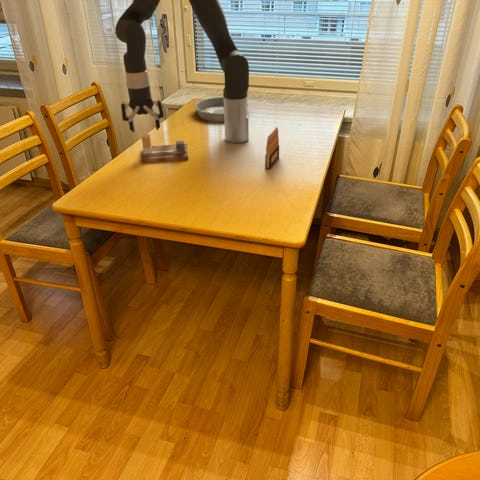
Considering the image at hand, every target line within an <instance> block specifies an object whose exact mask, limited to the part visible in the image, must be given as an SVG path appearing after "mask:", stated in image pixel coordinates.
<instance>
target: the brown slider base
mask: <svg viewBox="0 0 480 480" xmlns="http://www.w3.org/2000/svg"><path fill="white" fill-rule="evenodd" d="M188 150H189V149H188V143H185V140H177V141H175V144H162V145H160V144H159V145H152V153H147V154H144V152H143V149H142V151H141V164H147V163H149V164H151V163H165V162H166V163H167V162H177V161H189V152H188Z"/></svg>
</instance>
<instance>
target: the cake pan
mask: <svg viewBox="0 0 480 480" xmlns="http://www.w3.org/2000/svg"><path fill="white" fill-rule="evenodd" d="M211 107H212V108H218V107H220V108H221V107H224V99H223V96H216V97H209V98H208V97H207V98H204V99H201V100H199V101H197V102H196V103H195V104H194V109H195V110H196V111H197V113H198V114H197V115H198V117H199V116H200V117H201V119H202V120H204V119H205V121H208V120H209V121H208V122H218V123H219V122H220V123H222V122H224V108H223V109H214V110H215V111H214V112H213V113H210V112H205V111H202V110H208V109H212V108H211ZM247 107H249V103H248V102H247ZM207 108H208V109H207ZM200 117H199V118H200Z"/></svg>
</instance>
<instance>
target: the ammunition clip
mask: <svg viewBox="0 0 480 480" xmlns="http://www.w3.org/2000/svg"><path fill="white" fill-rule="evenodd" d="M279 139H280V137H279V129H278V127H275V129H274V130H272V132H270V134H269V135H268V136H267V139H266V147H265V149H266V150H265V155H264V156H265V157H264V158H265V159H264V170H271V169H272V168H273V166H274V165H275V164H276V162H277V161H278V160H279V158H280V145H279V143H280V141H279Z"/></svg>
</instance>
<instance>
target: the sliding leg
mask: <svg viewBox="0 0 480 480" xmlns="http://www.w3.org/2000/svg"><path fill="white" fill-rule="evenodd" d="M141 142H142V150H143V152H144V154H147V153H152V146H153V145H152V140H151V133H150V134H149V133H148V134H147V133H146V134H145V133H144V134H141Z"/></svg>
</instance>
